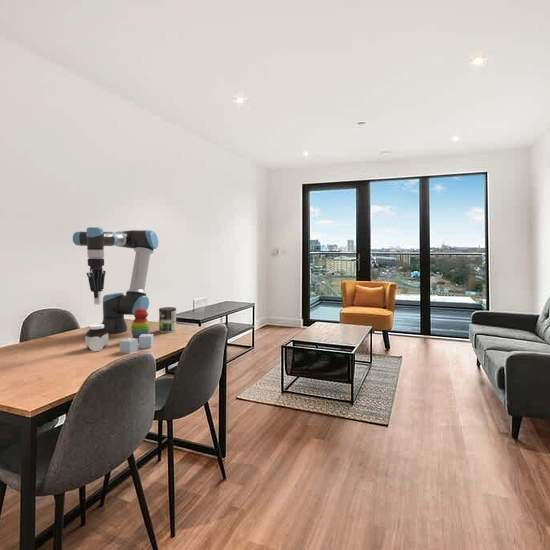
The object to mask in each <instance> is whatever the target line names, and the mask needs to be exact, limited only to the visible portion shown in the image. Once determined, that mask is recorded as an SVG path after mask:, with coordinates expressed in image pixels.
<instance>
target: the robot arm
mask: <svg viewBox="0 0 550 550" xmlns="http://www.w3.org/2000/svg"><path fill="white" fill-rule="evenodd" d="M72 242H73V244H74V245H76V246H80V247H82V246H83V247H87V248H86V249H87V250H86V253H87V254H86V255H87V266H88V267H89V271H88V272H86V276H87V279H88V285H89V290H90V291H91V292H93V300H94V302H93V303H94V305H102V322H101V324H104V329H106V330H107V332H108V335H109V334H111V335H112V334H121V333H124V332H127V331H128V325H127V322H126V319H125V316H126V315H127V316H128V315H129V316H134V312H135V310H137V309H140V308H142V309H145V310H146V312H148V309H149V307H150V301H149V300H150V299H149V296H147V293H146V291H145V288H146V283H147V278H148V271H149V265H150V264H149V263H150V258H151V255H152V254H154V250H157V248H158V247H159V238H158V235H157V233H156V232H155V231H154V230H148V229H145V230H144V229H143V230H142V229H140V230H138V229H135V230H134V229H133V230H124V231H116V232H113V231H104V229H103V227H97V226H96V227H95V226H94V227H91V226H90V227H87V228H86V231H75V232H73V235H72ZM114 246H115V247H118V248H127V249H133V251H134V252H135V256H134V260H133V268H132V273H131V279H130V284H129V289H128V290H127V291H126V292H125V294H124V292H114V293H109V294H108V293H107V294H105V295H103V297H102V292H103V291H104V287H105V286H104V285H105V277H106V271H107V270H104V269H103V267H104V266H105V251H104V248H105V247H114Z"/></svg>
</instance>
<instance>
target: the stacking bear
mask: <svg viewBox="0 0 550 550" xmlns="http://www.w3.org/2000/svg"><path fill="white" fill-rule="evenodd" d="M133 316H134V319H133V321H132V323H131V328H130V330H131V334H132V338H134V339H138V343H139V336H140V335H141V334H150V324H149V321H148V316H149V312H148V311H146V310H145V309H142V308H140V309H137V310H135V312H134V315H133Z"/></svg>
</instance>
